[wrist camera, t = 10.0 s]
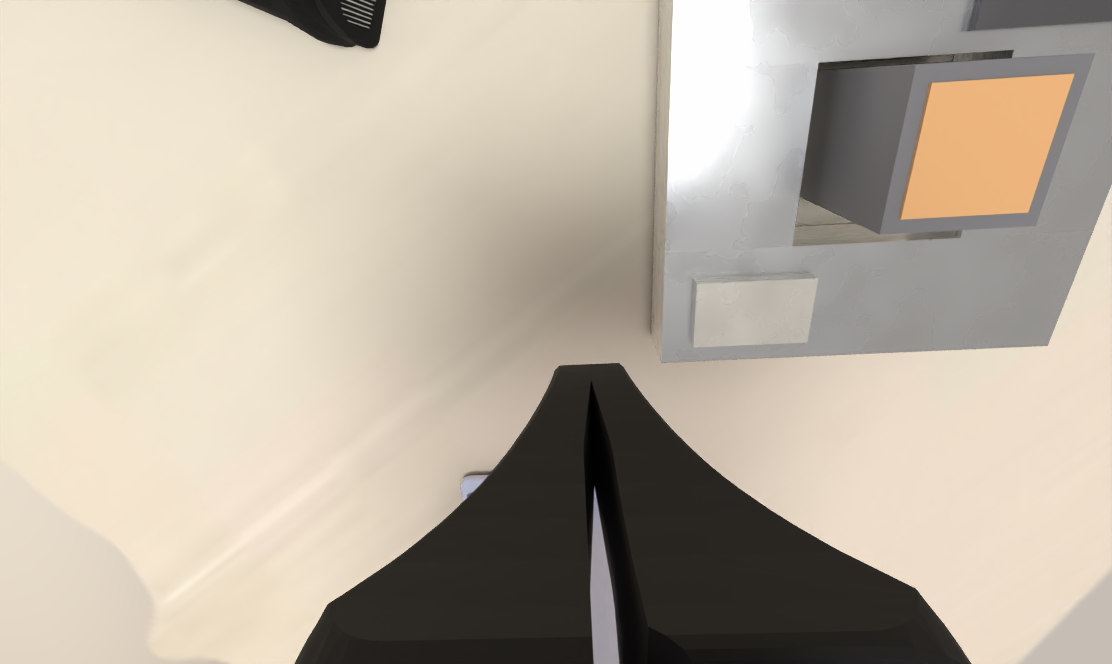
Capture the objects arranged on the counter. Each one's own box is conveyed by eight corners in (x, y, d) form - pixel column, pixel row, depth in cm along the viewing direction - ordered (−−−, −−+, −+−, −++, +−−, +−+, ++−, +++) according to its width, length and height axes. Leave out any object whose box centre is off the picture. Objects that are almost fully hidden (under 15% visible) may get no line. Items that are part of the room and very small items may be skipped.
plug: (900, 185, 19) (1038, 227, 13) (790, 191, 19) (881, 235, 14) (928, 62, 17) (1099, 52, 12) (805, 71, 17) (918, 64, 12)
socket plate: (995, 317, 21) (1062, 353, 18) (651, 333, 22) (664, 370, 19) (1144, -121, 15) (1276, -168, 12) (661, -84, 16) (682, -121, 13)
